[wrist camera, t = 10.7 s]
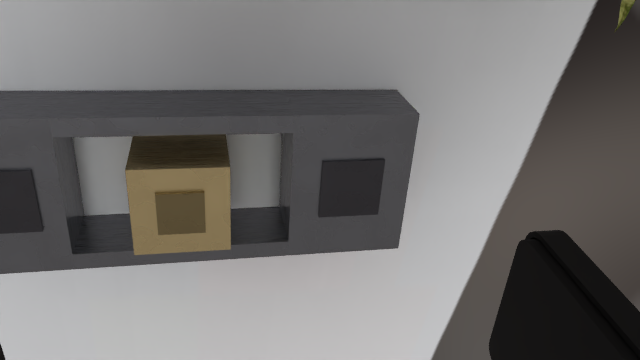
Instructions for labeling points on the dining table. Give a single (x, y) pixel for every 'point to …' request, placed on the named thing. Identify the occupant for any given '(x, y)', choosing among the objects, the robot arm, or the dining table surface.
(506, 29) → the dining table surface
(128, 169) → the brass block
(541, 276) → the robot arm
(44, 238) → the grey slotted block
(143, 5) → the dining table surface
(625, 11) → the house plant
